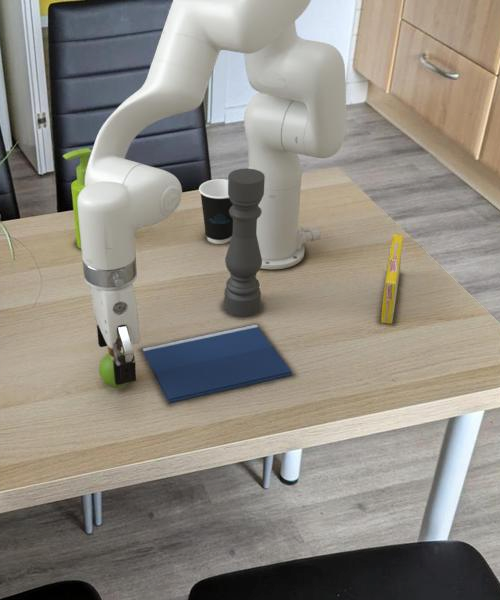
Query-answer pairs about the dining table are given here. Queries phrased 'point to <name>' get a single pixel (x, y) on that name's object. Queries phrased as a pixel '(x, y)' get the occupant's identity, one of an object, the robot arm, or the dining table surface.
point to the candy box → (392, 279)
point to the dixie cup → (216, 210)
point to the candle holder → (244, 243)
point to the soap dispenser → (78, 183)
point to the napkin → (214, 363)
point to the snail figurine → (109, 367)
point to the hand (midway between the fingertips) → (116, 362)
